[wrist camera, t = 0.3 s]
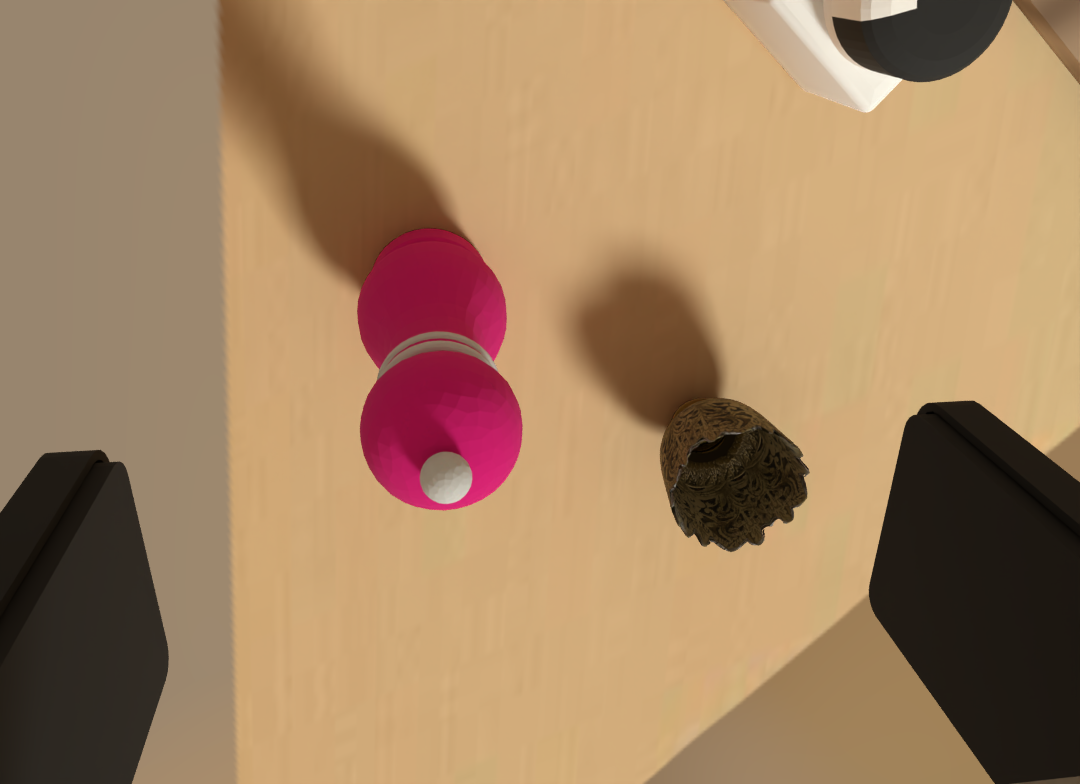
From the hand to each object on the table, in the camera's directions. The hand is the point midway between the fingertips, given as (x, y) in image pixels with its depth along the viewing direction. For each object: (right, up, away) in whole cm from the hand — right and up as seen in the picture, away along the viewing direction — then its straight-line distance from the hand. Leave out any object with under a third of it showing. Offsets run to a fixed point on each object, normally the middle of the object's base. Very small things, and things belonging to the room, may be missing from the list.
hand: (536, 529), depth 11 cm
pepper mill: (-6, +7, +36) cm, 37 cm away
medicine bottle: (+13, +21, +32) cm, 41 cm away
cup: (+9, 0, +42) cm, 43 cm away
